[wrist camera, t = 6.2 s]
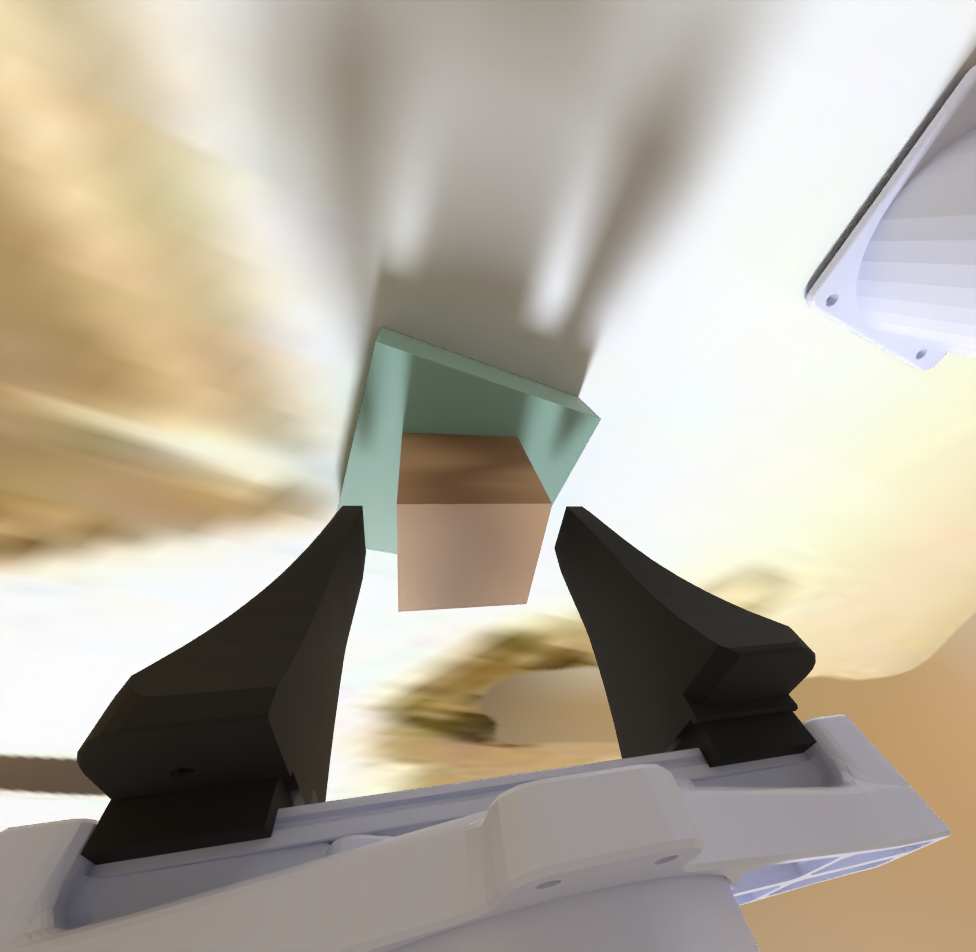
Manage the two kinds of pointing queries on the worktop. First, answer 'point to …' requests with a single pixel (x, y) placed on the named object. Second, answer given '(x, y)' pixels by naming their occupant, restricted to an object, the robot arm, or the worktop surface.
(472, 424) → the base block
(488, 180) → the worktop surface
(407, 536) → the walnut cube
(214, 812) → the robot arm
